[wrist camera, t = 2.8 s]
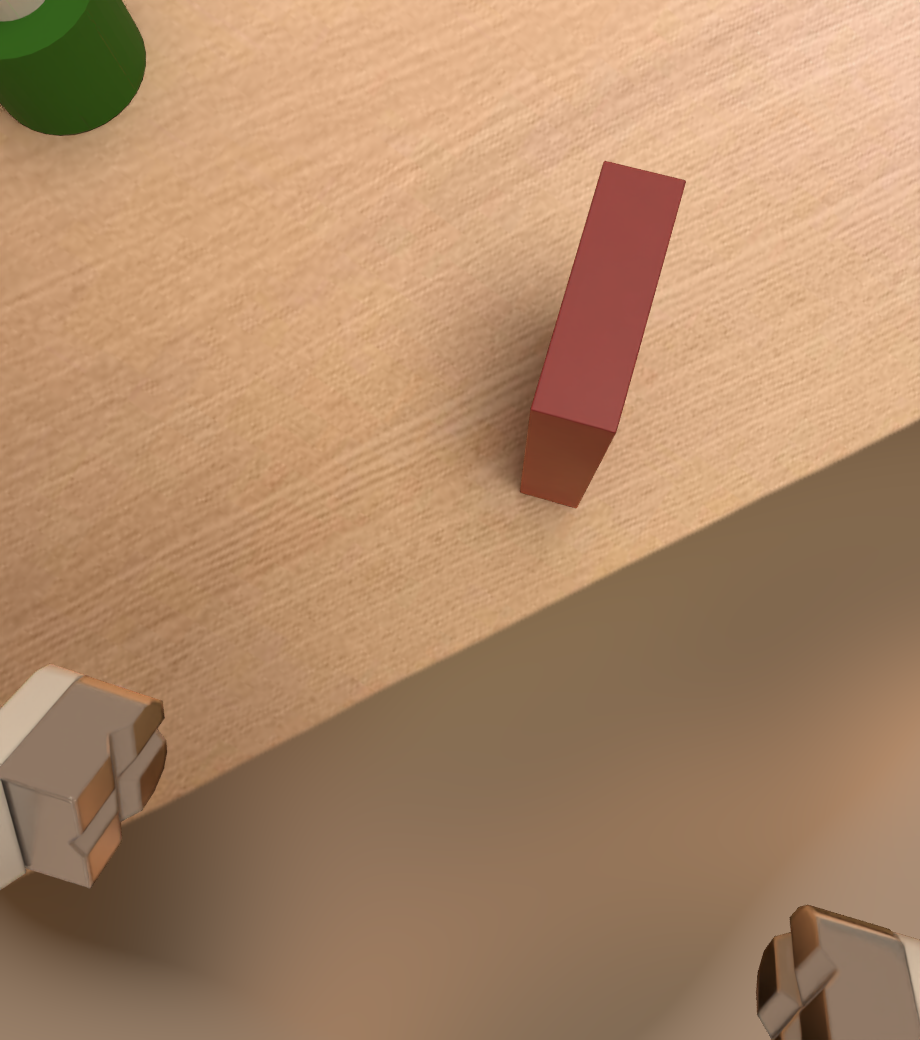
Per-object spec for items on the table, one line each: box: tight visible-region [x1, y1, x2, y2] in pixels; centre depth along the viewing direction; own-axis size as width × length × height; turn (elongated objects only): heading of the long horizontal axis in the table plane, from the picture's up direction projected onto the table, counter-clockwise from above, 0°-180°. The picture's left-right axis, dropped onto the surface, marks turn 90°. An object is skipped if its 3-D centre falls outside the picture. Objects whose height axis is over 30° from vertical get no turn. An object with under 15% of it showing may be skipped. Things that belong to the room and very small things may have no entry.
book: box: [520, 161, 686, 508], centre depth 33 cm, size 9×3×13 cm, turn 163°
